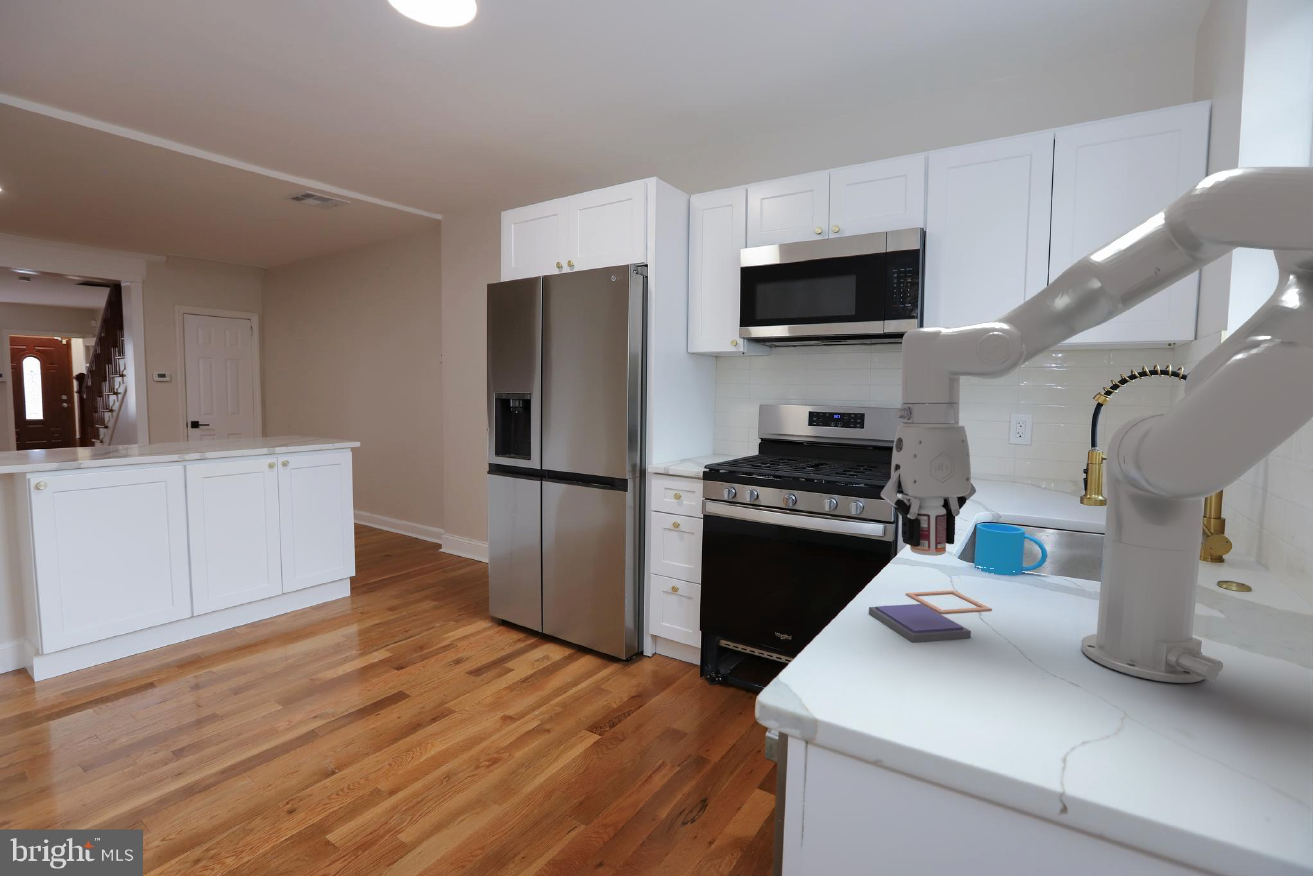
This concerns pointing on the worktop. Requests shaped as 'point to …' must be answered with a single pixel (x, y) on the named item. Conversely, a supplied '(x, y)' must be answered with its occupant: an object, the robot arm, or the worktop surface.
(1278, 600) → the worktop surface
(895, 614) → the ink pad
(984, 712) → the worktop surface
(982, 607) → the open rectangular frame
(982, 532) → the mug
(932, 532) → the pill bottle
